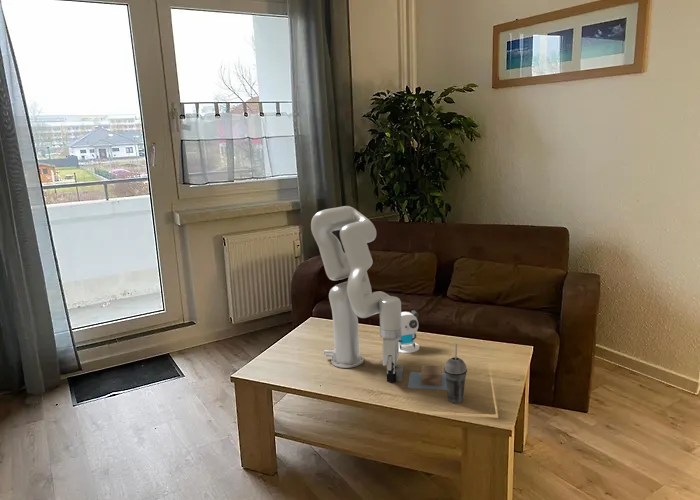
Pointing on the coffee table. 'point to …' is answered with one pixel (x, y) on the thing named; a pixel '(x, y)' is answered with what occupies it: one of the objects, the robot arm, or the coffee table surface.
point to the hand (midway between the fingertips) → (392, 378)
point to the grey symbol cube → (399, 372)
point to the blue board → (416, 383)
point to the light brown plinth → (431, 375)
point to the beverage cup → (455, 378)
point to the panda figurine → (408, 332)
